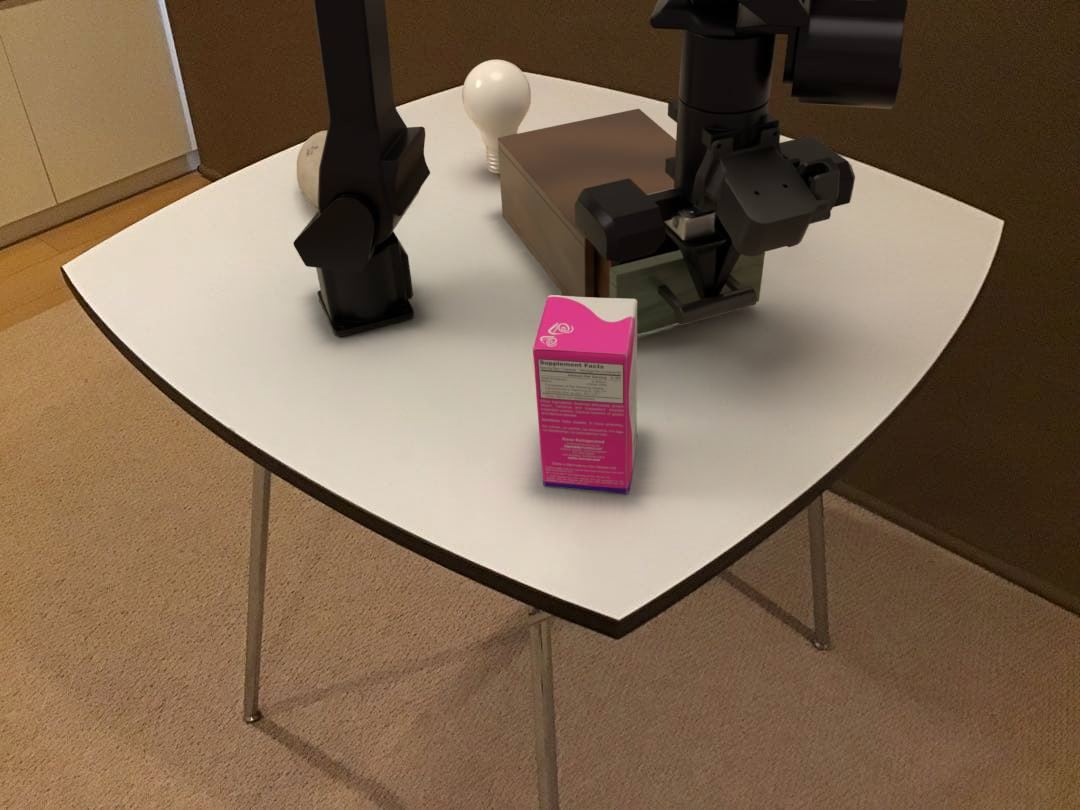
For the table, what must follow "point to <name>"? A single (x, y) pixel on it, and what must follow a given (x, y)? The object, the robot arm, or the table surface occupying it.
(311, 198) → the stone
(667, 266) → the drawer
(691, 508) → the table surface
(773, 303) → the table surface
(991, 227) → the table surface
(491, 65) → the lightbulb
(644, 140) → the cabinet
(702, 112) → the robot arm
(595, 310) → the supplement box
